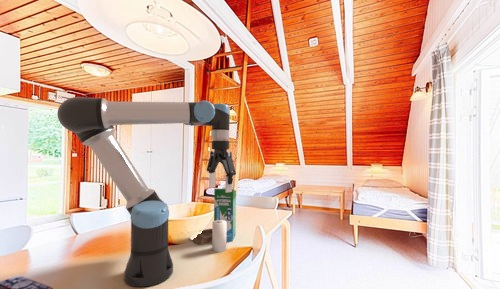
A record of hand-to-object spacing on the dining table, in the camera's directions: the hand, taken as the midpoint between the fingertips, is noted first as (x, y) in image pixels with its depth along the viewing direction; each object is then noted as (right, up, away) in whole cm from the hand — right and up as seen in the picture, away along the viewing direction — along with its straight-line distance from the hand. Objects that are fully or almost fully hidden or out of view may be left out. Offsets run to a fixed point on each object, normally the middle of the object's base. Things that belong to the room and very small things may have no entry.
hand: (220, 189), depth 104 cm
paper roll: (0, -26, 0) cm, 26 cm away
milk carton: (+1, -27, +14) cm, 30 cm away
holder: (-8, -26, +13) cm, 30 cm away
